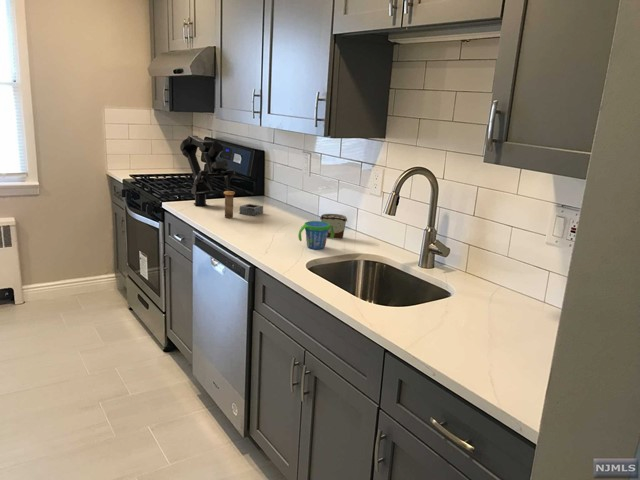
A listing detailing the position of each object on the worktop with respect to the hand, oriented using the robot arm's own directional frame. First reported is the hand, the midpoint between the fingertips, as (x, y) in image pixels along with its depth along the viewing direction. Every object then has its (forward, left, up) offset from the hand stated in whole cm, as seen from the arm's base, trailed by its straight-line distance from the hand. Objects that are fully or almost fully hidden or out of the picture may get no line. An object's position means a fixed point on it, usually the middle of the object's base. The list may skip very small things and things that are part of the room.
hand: (220, 189), depth 255 cm
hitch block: (0, +16, -13) cm, 21 cm away
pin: (+8, +3, -13) cm, 15 cm away
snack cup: (+66, +25, -13) cm, 72 cm away
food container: (+51, +40, -13) cm, 66 cm away
